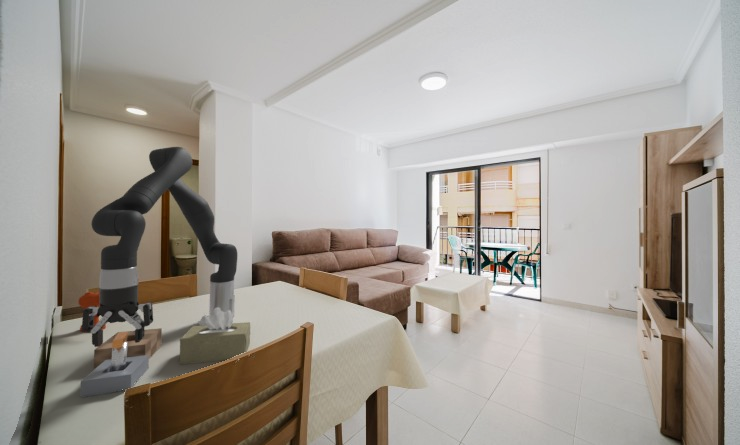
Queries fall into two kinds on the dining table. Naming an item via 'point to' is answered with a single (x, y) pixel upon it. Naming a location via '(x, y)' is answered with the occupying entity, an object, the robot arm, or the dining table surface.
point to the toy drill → (90, 304)
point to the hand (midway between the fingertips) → (119, 343)
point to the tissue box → (214, 339)
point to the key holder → (114, 376)
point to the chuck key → (119, 352)
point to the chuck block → (130, 346)
